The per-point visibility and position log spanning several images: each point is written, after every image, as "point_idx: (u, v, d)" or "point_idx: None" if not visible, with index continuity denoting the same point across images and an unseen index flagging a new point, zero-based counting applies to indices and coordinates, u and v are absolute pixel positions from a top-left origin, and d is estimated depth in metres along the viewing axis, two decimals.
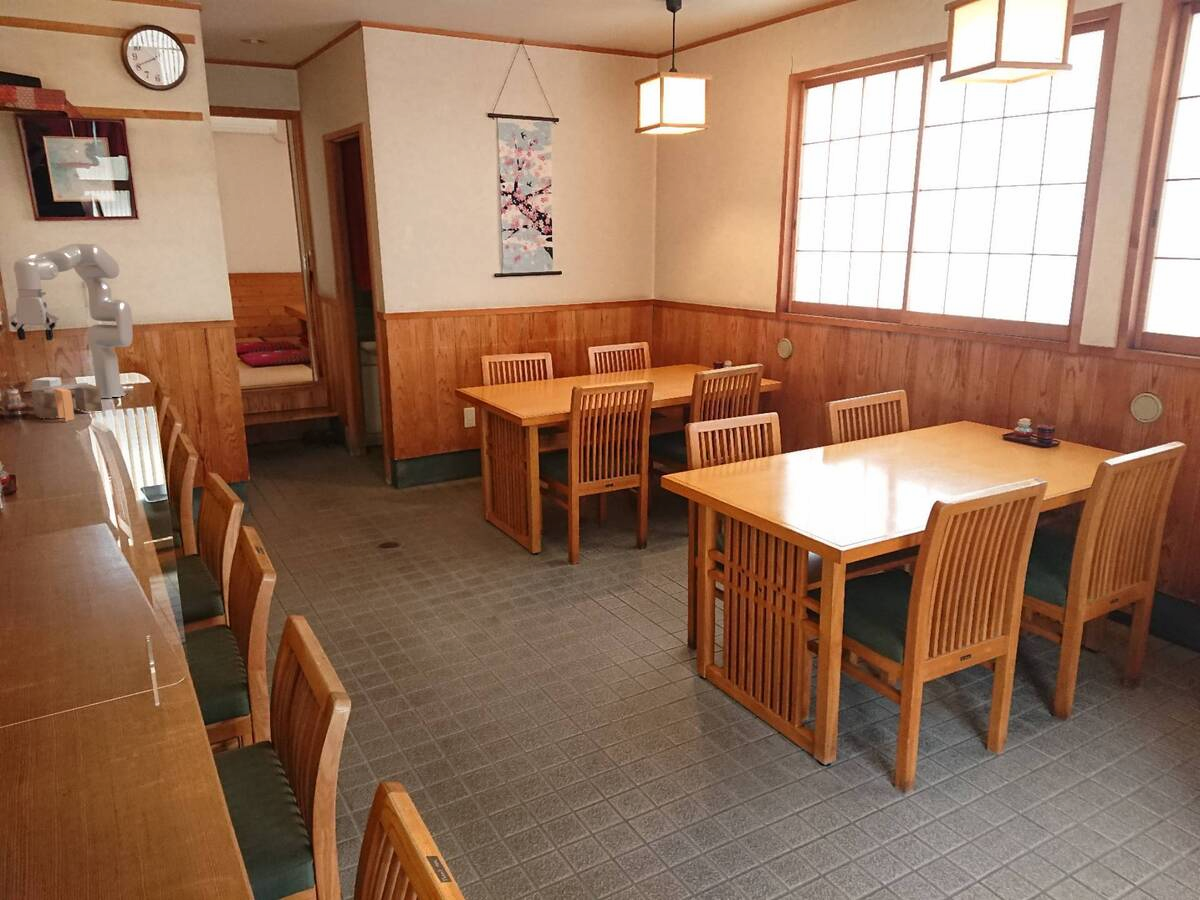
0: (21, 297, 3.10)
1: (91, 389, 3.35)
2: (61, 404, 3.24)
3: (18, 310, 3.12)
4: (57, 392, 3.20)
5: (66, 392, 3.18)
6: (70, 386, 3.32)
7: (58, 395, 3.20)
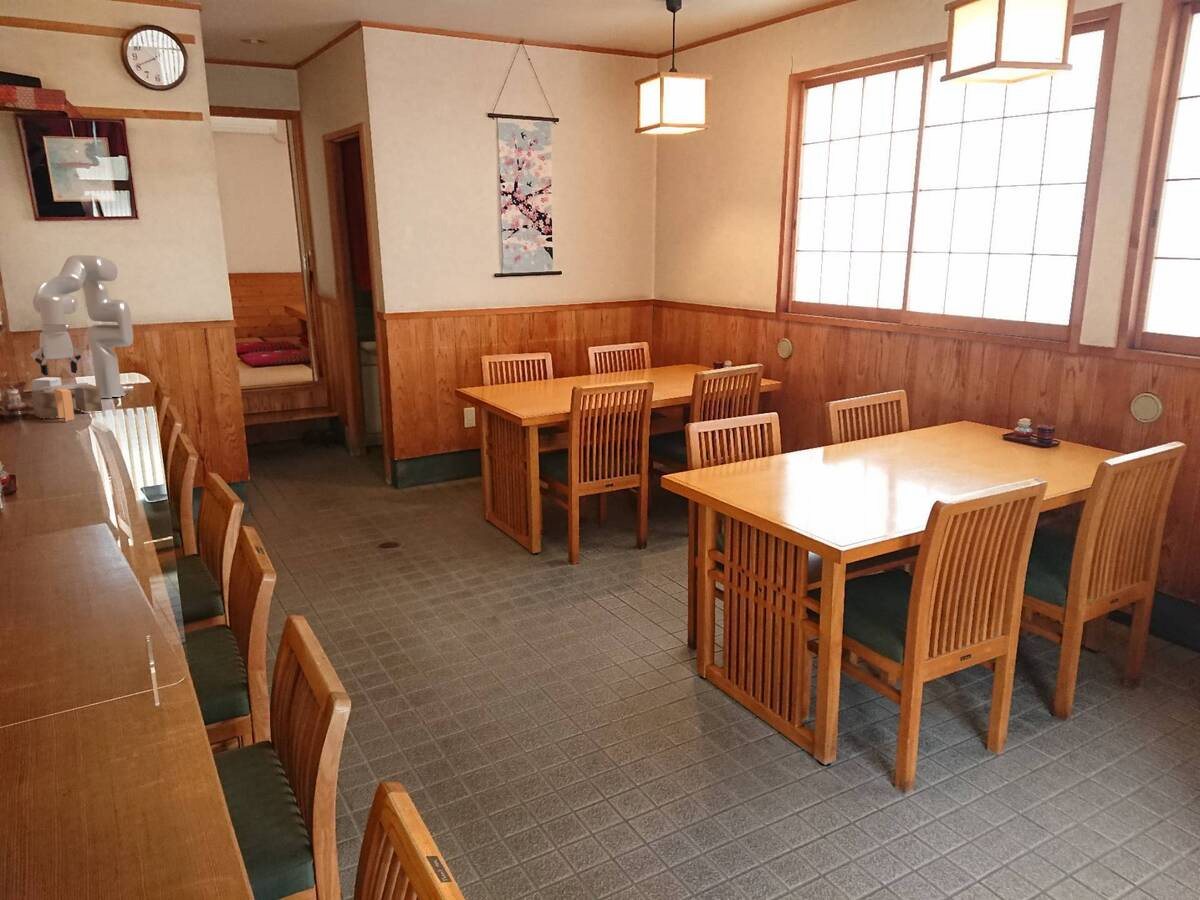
0: (53, 332, 3.11)
1: (91, 389, 3.35)
2: (61, 404, 3.24)
3: (47, 345, 3.12)
4: (57, 392, 3.20)
5: (66, 392, 3.18)
6: (70, 386, 3.32)
7: (58, 395, 3.20)
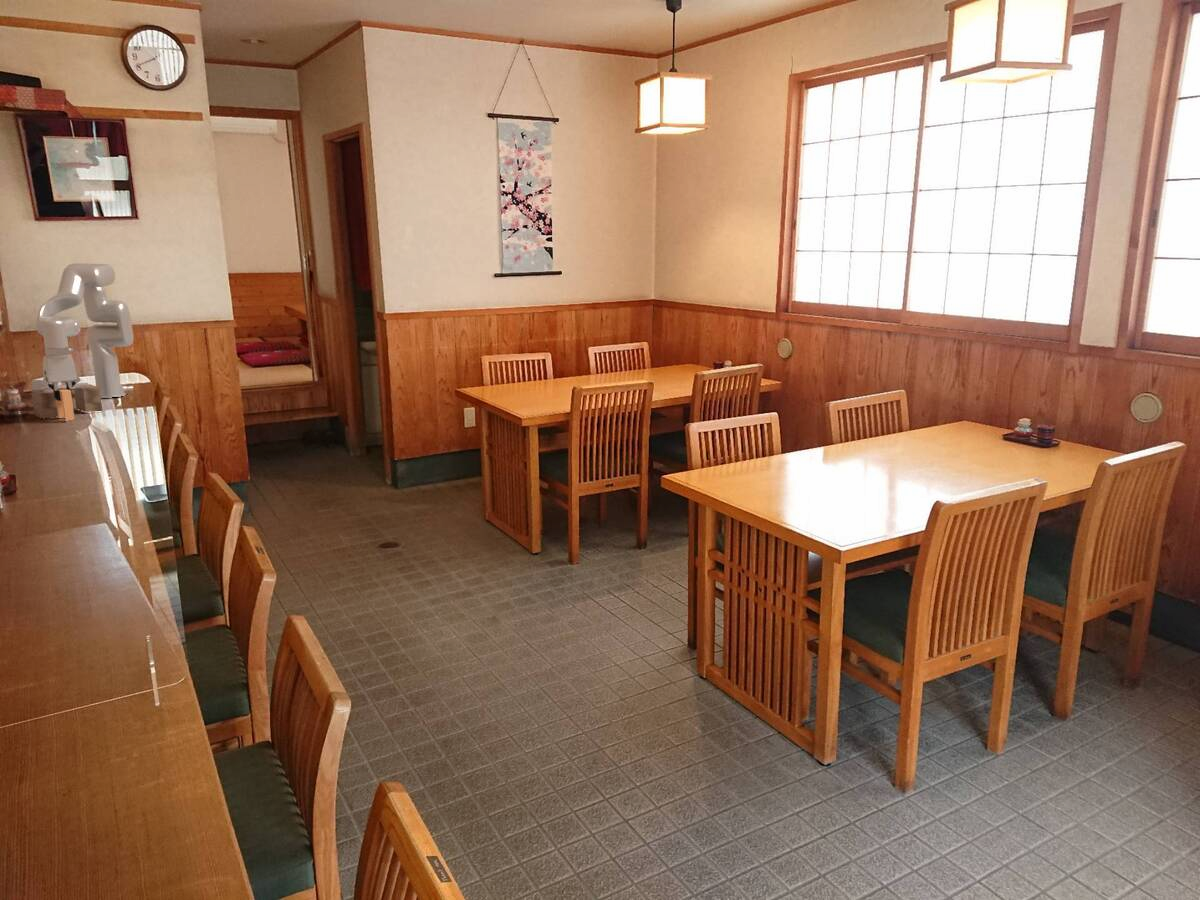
0: (57, 356, 3.14)
1: (91, 389, 3.35)
2: (61, 404, 3.24)
3: (50, 369, 3.14)
4: None
5: (66, 392, 3.18)
6: None
7: None
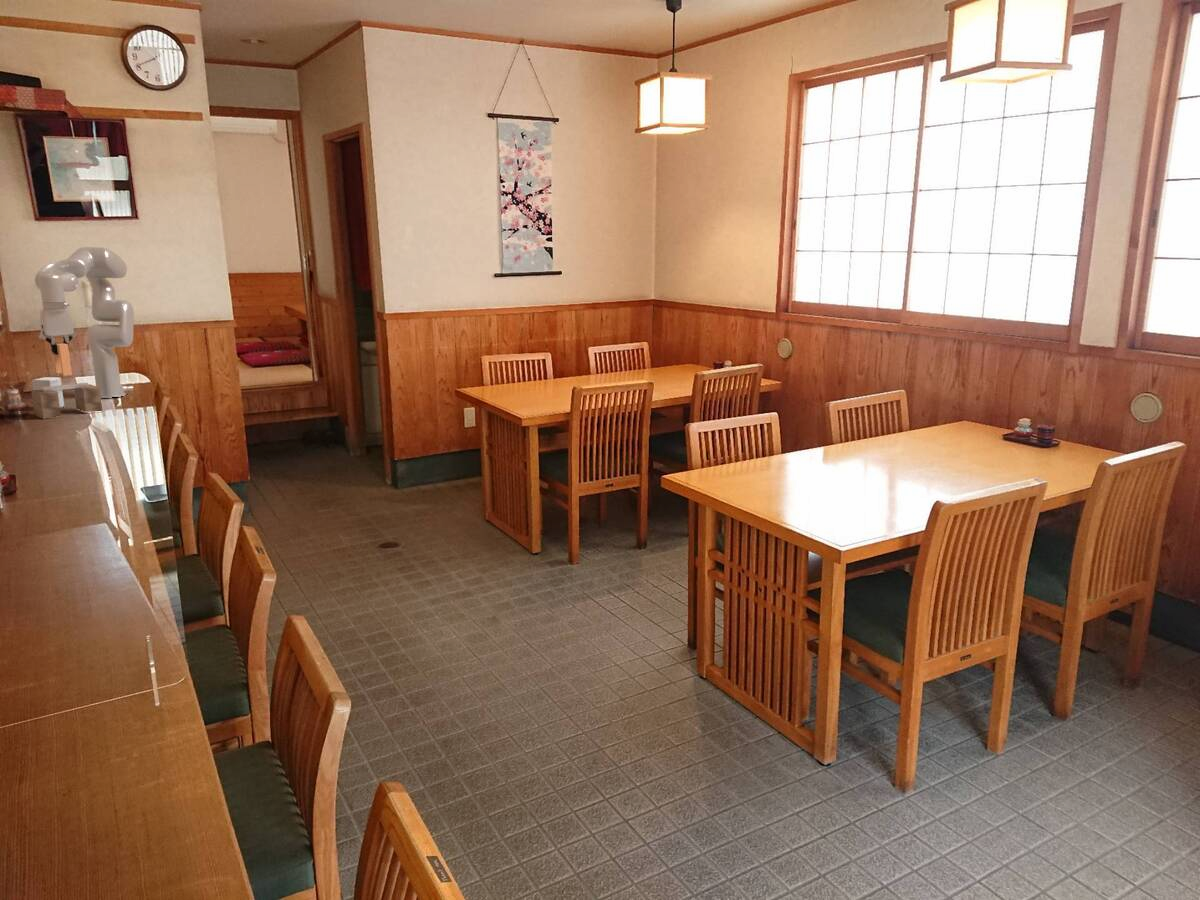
0: (54, 310, 3.19)
1: (91, 389, 3.35)
2: (58, 358, 3.29)
3: (47, 323, 3.19)
4: None
5: (63, 346, 3.23)
6: (70, 386, 3.32)
7: None
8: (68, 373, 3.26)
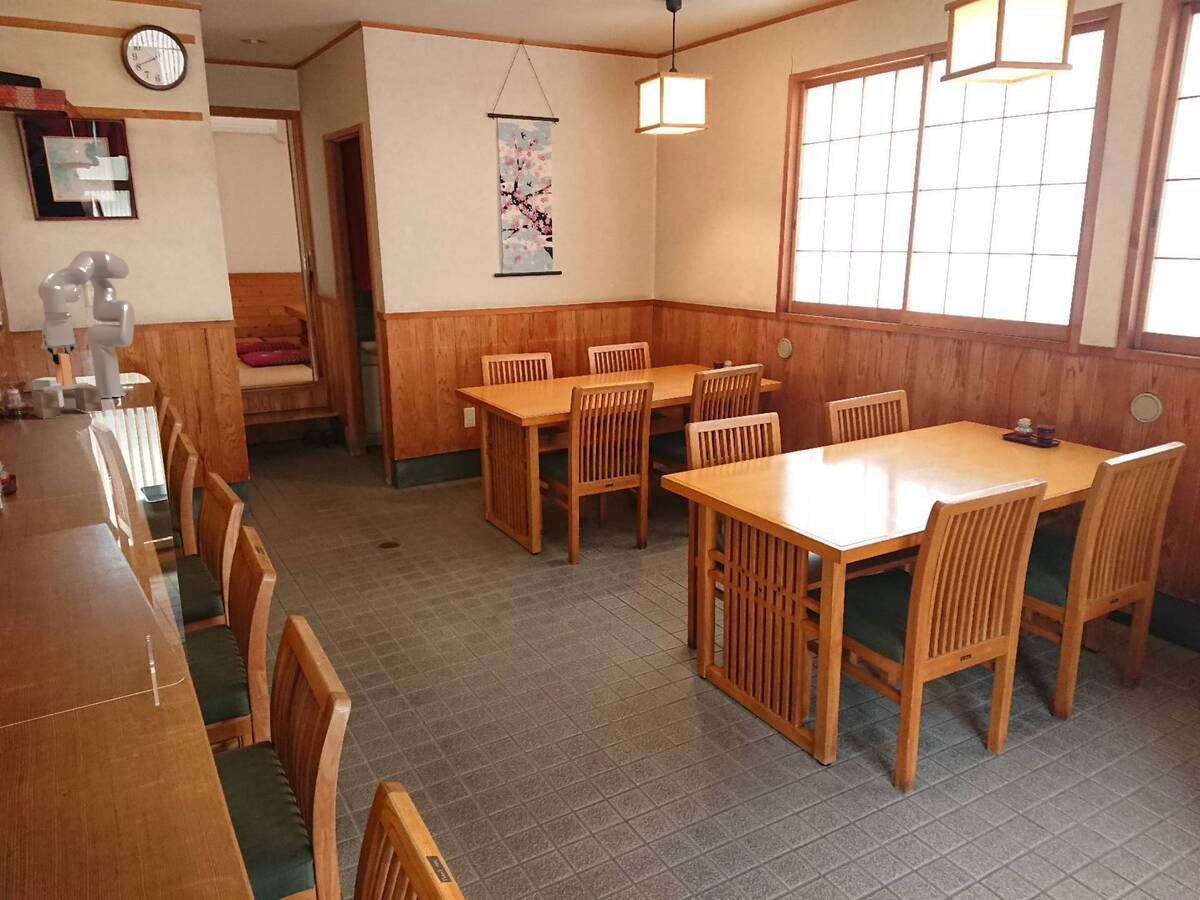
0: (55, 320, 3.22)
1: (91, 389, 3.35)
2: (60, 368, 3.31)
3: (49, 333, 3.22)
4: None
5: (64, 356, 3.26)
6: (70, 386, 3.32)
7: None
8: (69, 383, 3.29)
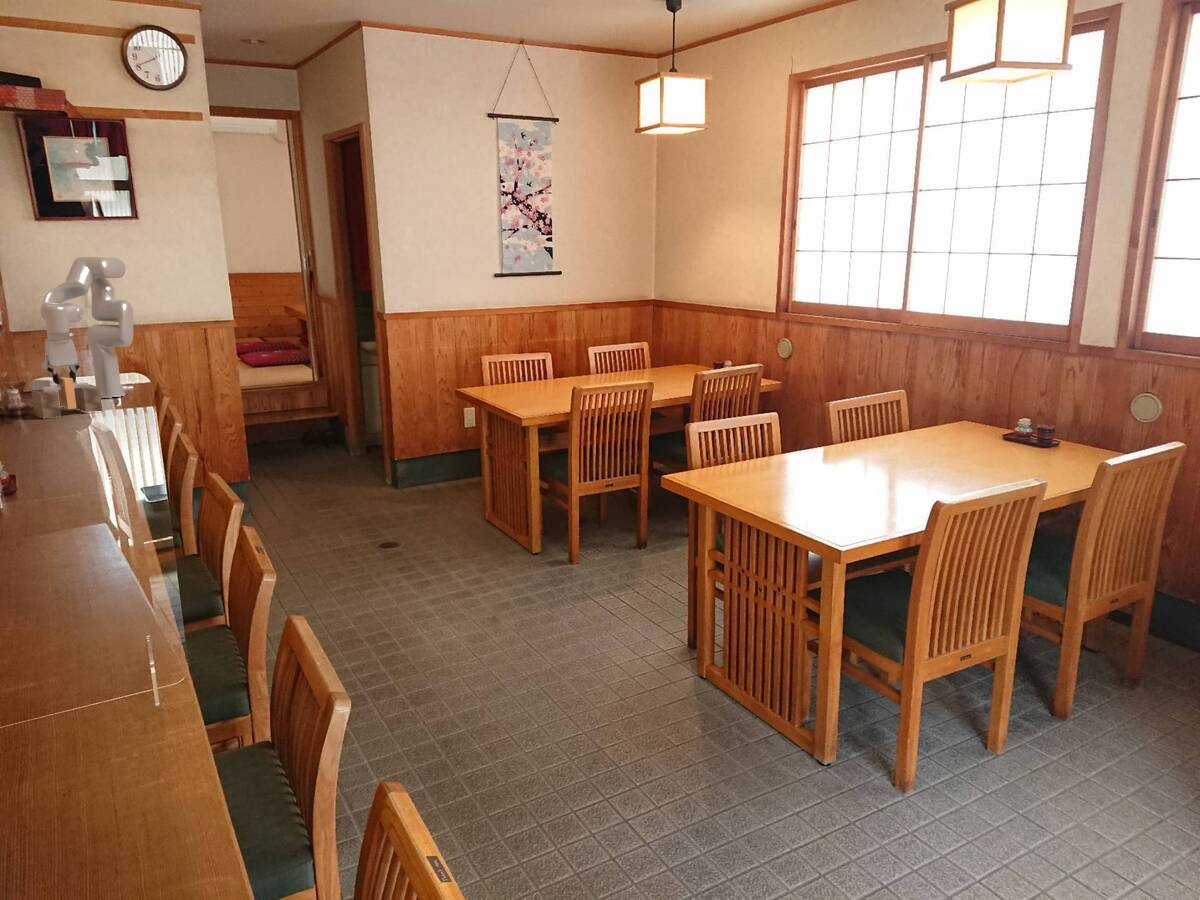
0: (58, 340, 3.24)
1: (91, 389, 3.35)
2: (63, 392, 3.34)
3: (52, 353, 3.24)
4: (59, 380, 3.30)
5: (68, 380, 3.28)
6: None
7: (60, 383, 3.30)
8: (73, 406, 3.31)
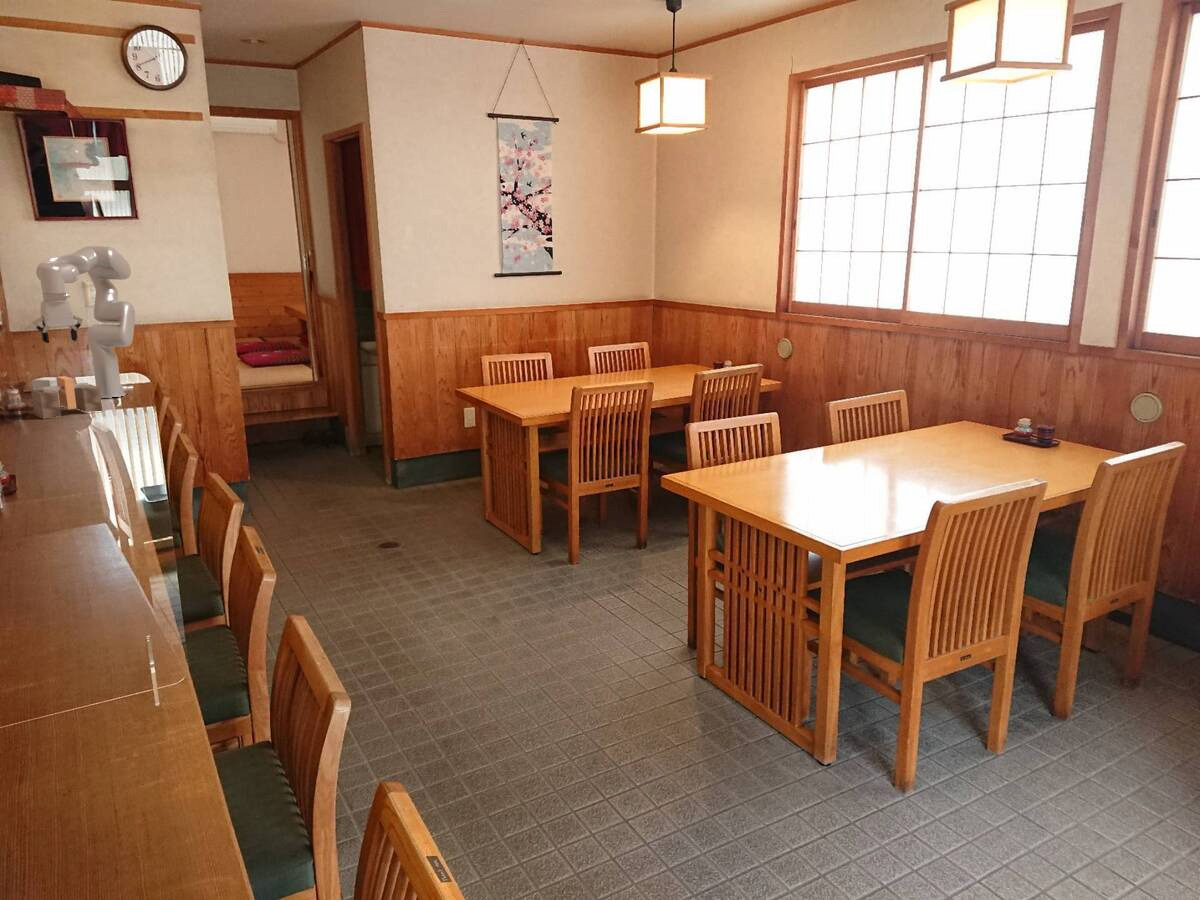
0: (54, 301, 3.21)
1: (91, 389, 3.35)
2: (63, 392, 3.34)
3: (48, 314, 3.22)
4: (59, 380, 3.30)
5: (68, 380, 3.28)
6: None
7: (60, 383, 3.30)
8: (73, 406, 3.31)
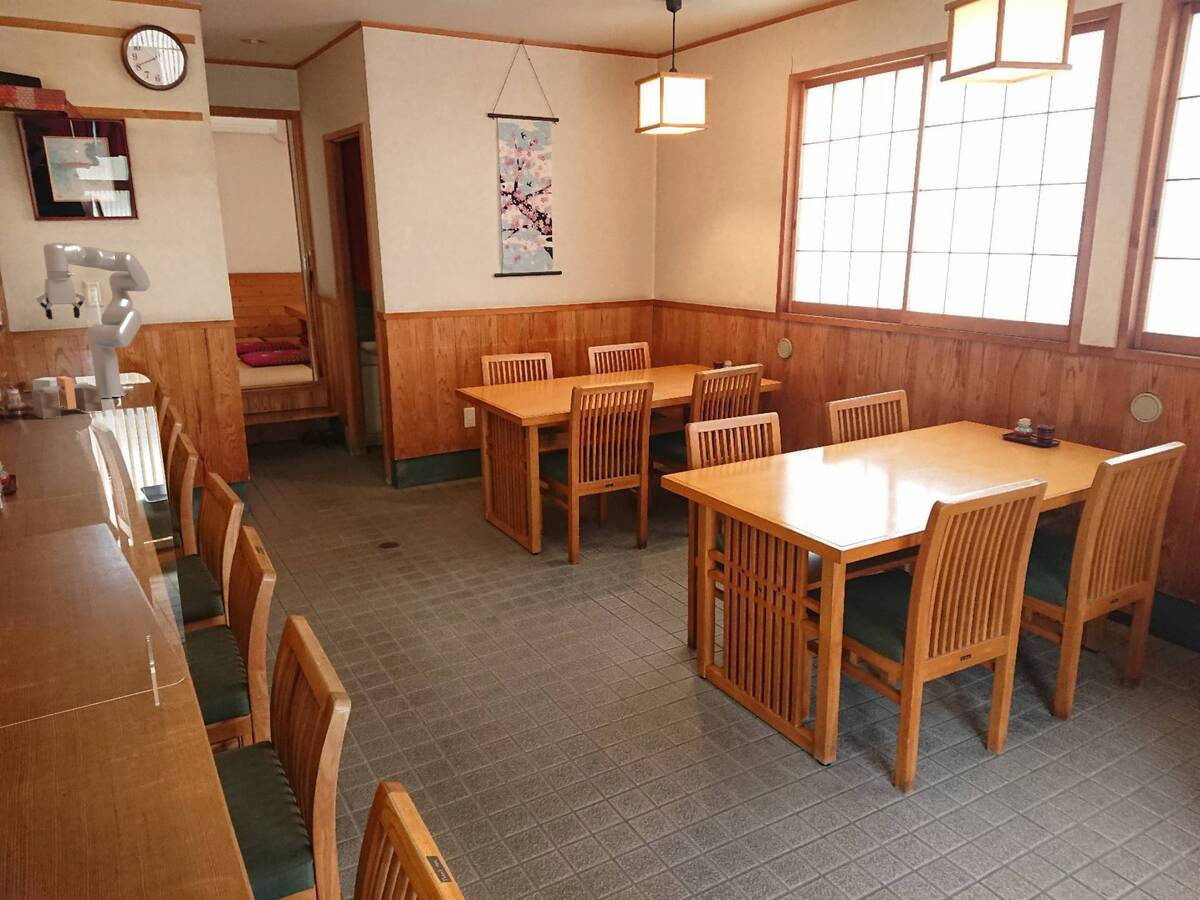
0: (57, 278, 3.32)
1: (91, 389, 3.35)
2: (63, 392, 3.34)
3: (51, 291, 3.32)
4: (59, 380, 3.30)
5: (68, 380, 3.28)
6: None
7: (60, 383, 3.30)
8: (73, 406, 3.31)
